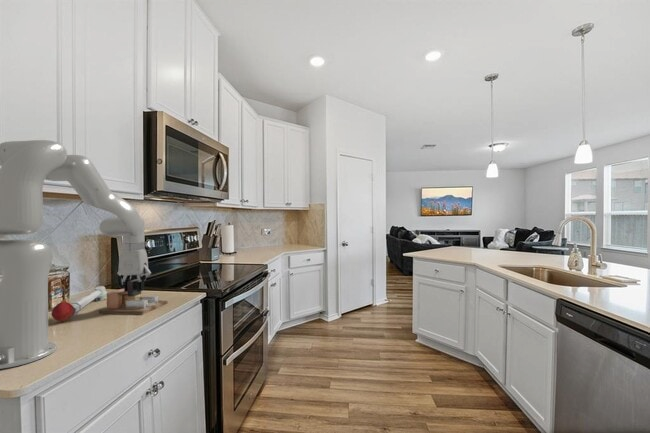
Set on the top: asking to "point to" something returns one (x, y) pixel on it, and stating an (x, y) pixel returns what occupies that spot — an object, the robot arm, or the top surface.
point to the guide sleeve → (142, 302)
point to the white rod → (90, 298)
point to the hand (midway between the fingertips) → (134, 290)
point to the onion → (62, 311)
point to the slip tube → (131, 291)
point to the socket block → (115, 299)
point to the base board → (132, 309)
